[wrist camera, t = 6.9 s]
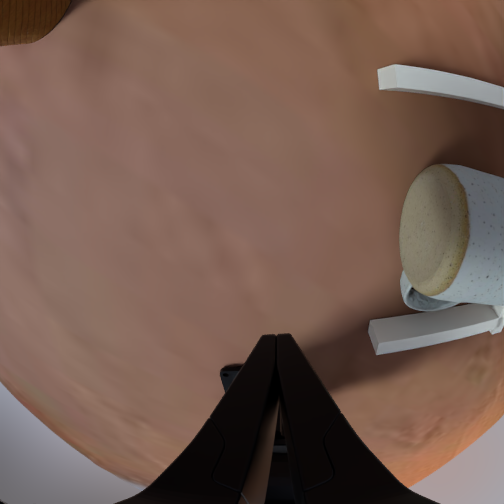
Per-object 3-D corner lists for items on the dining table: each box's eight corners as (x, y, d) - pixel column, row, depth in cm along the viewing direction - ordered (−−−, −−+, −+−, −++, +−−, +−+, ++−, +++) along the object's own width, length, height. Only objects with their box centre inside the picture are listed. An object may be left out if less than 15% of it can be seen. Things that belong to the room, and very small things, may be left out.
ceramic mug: (404, 146, 15) (484, 183, 8) (497, 171, 14) (573, 213, 8) (370, 298, 20) (403, 383, 13) (457, 298, 19) (501, 366, 13)
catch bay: (488, 314, 20) (500, 331, 18) (366, 337, 21) (374, 360, 19) (522, 92, 11) (545, 94, 9) (376, 59, 12) (393, 52, 10)
